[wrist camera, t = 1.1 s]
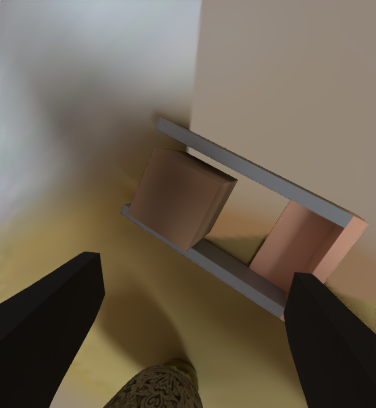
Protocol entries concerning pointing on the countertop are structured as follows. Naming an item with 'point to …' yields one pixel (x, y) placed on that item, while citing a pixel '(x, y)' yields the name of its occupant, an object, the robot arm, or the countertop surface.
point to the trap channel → (272, 232)
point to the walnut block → (180, 196)
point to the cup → (160, 388)
